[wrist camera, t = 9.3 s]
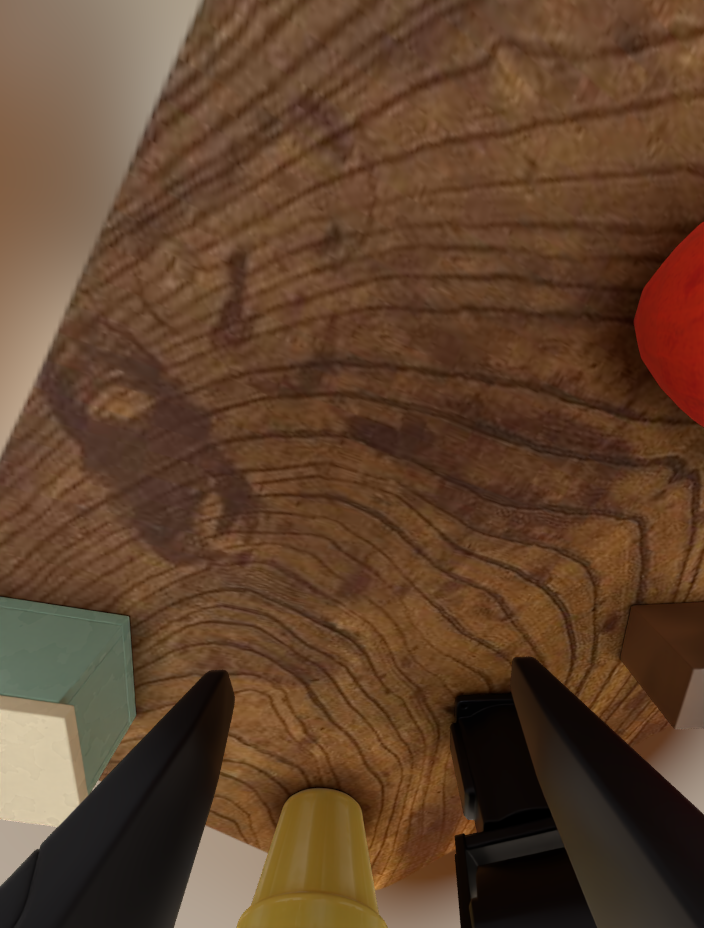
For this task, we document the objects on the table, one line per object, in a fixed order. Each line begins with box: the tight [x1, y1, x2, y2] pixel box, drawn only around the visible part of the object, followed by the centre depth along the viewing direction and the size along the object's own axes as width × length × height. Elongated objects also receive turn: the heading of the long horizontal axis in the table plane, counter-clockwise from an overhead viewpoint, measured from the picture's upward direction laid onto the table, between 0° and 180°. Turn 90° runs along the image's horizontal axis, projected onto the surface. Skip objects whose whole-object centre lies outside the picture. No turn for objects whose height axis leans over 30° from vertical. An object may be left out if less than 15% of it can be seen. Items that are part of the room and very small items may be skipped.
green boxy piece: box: [0, 597, 136, 795], centre depth 22 cm, size 10×10×6 cm
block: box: [620, 602, 704, 729], centre depth 20 cm, size 4×4×4 cm
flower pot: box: [237, 788, 388, 928], centre depth 25 cm, size 10×10×10 cm
